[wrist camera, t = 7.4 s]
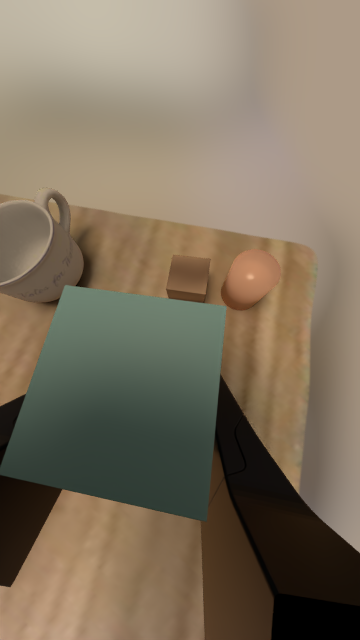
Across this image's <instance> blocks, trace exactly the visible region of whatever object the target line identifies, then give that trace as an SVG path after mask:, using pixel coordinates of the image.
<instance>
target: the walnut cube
mask: <svg viewBox="0 0 360 640" xmlns="http://www.w3.org/2000/svg"><path fill="white" fill-rule="evenodd" d="M209 266H210V259H205V258H197V257H189V256H180V255H173V257H172V262H171V267H170V272H169V277H168V282H167V287H166V290H167V294H168V297H169V299H175V300H183V301H190V302H198V303H203V302H204V299H205V295H206V288H207V281H208V274H209Z"/></svg>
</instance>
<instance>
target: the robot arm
mask: <svg viewBox="0 0 360 640" xmlns="http://www.w3.org/2000/svg"><path fill="white" fill-rule="evenodd" d="M25 396H26V394H24V395H22V396H20V397H18V398H16V399H14V400H12V401H10V402H8V403H6V404H4V405H2V406H0V466H1V464H2V461H3V458H4V455H5V452H6V449H7V447H8V444H9V441H10V438H11V435H12V433H13V430H14V427H15V424H16V421H17V419H18V416H19V413H20V410H21V407H22V404H23V402H24V399H25ZM61 491H62V489H60V488H56V487H51V486H47V485H43V484H38V483H34V482H29V481H25V480H21V479H16V478H12V477H8V476H3V475H0V585H1V586H6V587H11V586H12V584H13V582H14V580H15V579H16V577H17V575H18V573H19V571H20V569H21V567H22V565H23V563H24V562H25V560H26V558H27V556H28V554H29V552H30V550H31V548H32V546H33V544H34V542H35V541H36V539H37V537H38V535H39V533H40V531H41V529H42V527H43V525H44V523H45V522H46V520H47V518H48V516H49V514H50V512H51V510H52V508H53V506H54V504H55V503H56V501H57V499H58V497H59V495H60V493H61ZM201 540H202V570H203V601H204V631H205V640H360V553H359V552H358V551H357V550H355V549H354V548H353V547H352V546H351V545H350V544H349V543H348V542H346V541H345V540H344V539H343V538H342V537H341V536H339V535H338V534H337V533H336V532H335V531H334V530H332V529H331V528H330V527H329V526H328V525H327V524H326V523H324V522H323V521H322V520H321V519H320V518H319V517H318V516H317V515H316V514H315V513H314V512H313V511H312V510H311V509H310V508H309V506H308V505H307V504H306V503H305V502H304V501H303V499H302V498H301V497H300V496H299V494H298V493H297V491H296V490H295V489H294V487H293V486H292V485H291V483H290V482H289V480H288V479H287V478H286V476H285V475H284V473H283V472H282V471H281V469H280V468H279V466H278V465H277V464H276V462H275V461H274V459H273V458H272V457H271V455H270V454H269V452H268V451H267V450H266V448H265V447H264V445H263V444H262V442H261V441H260V439H259V438H258V436H257V435H256V433H255V432H254V430H253V428H252V427H251V425H250V424H249V422H248V420H247V418H246V417H245V415H244V413H243V412H242V410H241V408H240V407H239V405H238V403H237V402H236V400H235V398H234V396H233V395H232V393H231V391H230V390H229V388H228V386H227V385H226V383H225V381H224V379H223V378H222V376H221V374H220V382H219V393H218V404H217V415H216V426H215V437H214V448H213V459H212V470H211V481H210V491H209V502H208V513H207V522H205V521H201Z"/></svg>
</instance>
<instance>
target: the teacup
mask: <svg viewBox="0 0 360 640" xmlns="http://www.w3.org/2000/svg"><path fill="white" fill-rule="evenodd" d="M51 198H53V199H54V200H55V201H56V203H57V205H58V208H59V213H60V222H59V224H58V223H57V222H56V221H55V220H54V219H53V217H52V216H51V214H50V211H49V208H48V201H49V200H50V199H51ZM70 220H71V218H70V209H69V205H68V203H67V201H66V199H65V198H64V197H63V196H62V195H61V194H60V193H59V192H58V191H56V190H53V189H50V188H42V189H39V191H37V193H36V195H35V202H32V201H28V200H13V201H7V202H4V203H1V204H0V292H1V293H4V294H7V295H9V296H12V297H15V298H19V299H22V300H26V301H30V302H50V301H53V300H57V299H59V298H61V295H62V292H63V289H64V286H65V285H69V286H76V284H77V283H78V281H79V280H80V278H81V275H82V272H83V267H84V261H83V256H82V252H81V250H80V248H79V247H78V245H77V244H76V242H75V241H74V240H73V239H72V237H71V235H70Z"/></svg>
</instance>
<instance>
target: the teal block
mask: <svg viewBox="0 0 360 640" xmlns="http://www.w3.org/2000/svg"><path fill="white" fill-rule="evenodd" d="M225 317H226V306H221V305H213V304H206V303H198V302H190V301H183V300H175V299H168V298H160V297H152V296H145V295H137V294H130V293H122V292H114V291H107V290H99V289H91V288H84V287H76V286H69V285H65V286H64V289H63V292H62V295H61V298H60V300H59V303H58V306H57V309H56V312H55V314H54V317H53V320H52V323H51V326H50V328H49V331H48V334H47V337H46V340H45V343H44V345H43V348H42V351H41V354H40V357H39V359H38V362H37V365H36V368H35V371H34V374H33V376H32V379H31V382H30V385H29V388H28V390H27V393H26V396H25V399H24V402H23V404H22V407H21V410H20V413H19V416H18V419H17V421H16V424H15V427H14V430H13V433H12V435H11V438H10V441H9V444H8V447H7V449H6V452H5V455H4V458H3V461H2V464H1V466H0V475H3V476H8V477H12V478H16V479H21V480H25V481H29V482H34V483H38V484H43V485H47V486H51V487H56V488H60V489H65V490H69V491H73V492H78V493H82V494H86V495H91V496H95V497H100V498H104V499H108V500H113V501H117V502H121V503H126V504H130V505H135V506H139V507H143V508H148V509H152V510H157V511H161V512H165V513H170V514H174V515H178V516H183V517H187V518H192V519H196V520H200V521H205V522H207V513H208V502H209V491H210V481H211V470H212V459H213V448H214V437H215V426H216V415H217V404H218V393H219V382H220V371H221V360H222V350H223V339H224V328H225Z"/></svg>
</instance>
